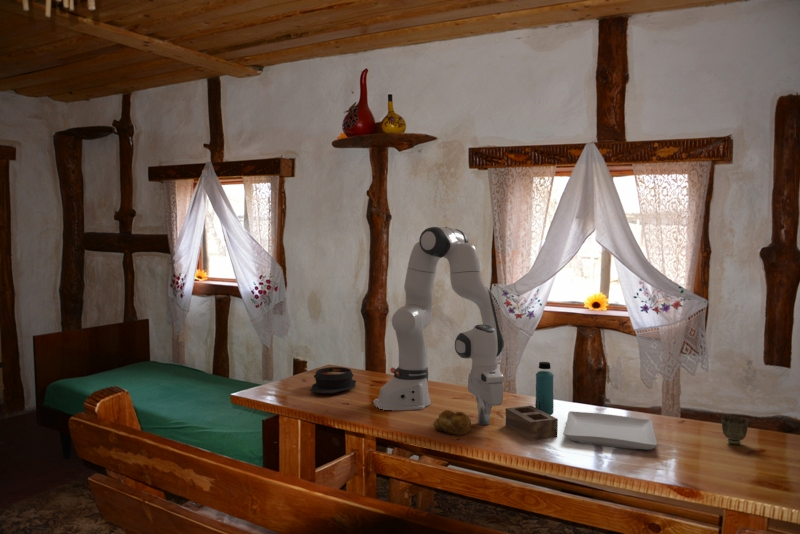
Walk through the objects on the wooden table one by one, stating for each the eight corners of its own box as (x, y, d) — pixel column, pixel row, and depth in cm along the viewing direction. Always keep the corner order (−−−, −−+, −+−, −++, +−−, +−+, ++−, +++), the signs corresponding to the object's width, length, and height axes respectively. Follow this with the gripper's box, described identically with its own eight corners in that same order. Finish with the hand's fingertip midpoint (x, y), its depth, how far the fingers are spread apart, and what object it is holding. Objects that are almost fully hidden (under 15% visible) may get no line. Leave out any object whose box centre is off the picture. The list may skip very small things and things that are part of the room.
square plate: (657, 456, 170) (658, 443, 170) (562, 445, 179) (562, 433, 179) (651, 428, 195) (652, 417, 195) (568, 420, 205) (568, 409, 204)
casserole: (329, 381, 260) (329, 363, 260) (366, 385, 253) (366, 366, 253) (299, 395, 237) (299, 374, 237) (339, 399, 230) (339, 379, 230)
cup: (747, 449, 174) (748, 423, 174) (720, 445, 178) (720, 419, 178) (748, 442, 181) (748, 417, 180) (721, 438, 185) (721, 413, 184)
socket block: (530, 440, 182) (530, 422, 182) (505, 425, 197) (505, 408, 197) (557, 437, 186) (557, 418, 185) (530, 422, 201) (531, 405, 200)
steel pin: (481, 425, 197) (481, 396, 196) (476, 422, 201) (476, 393, 200) (491, 424, 198) (492, 395, 198) (486, 421, 202) (486, 392, 201)
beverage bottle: (556, 416, 207) (557, 362, 206) (547, 421, 202) (548, 364, 202) (540, 413, 212) (541, 359, 211) (531, 417, 207) (532, 362, 206)
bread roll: (428, 431, 191) (428, 408, 191) (443, 424, 199) (443, 401, 199) (462, 439, 184) (462, 414, 183) (476, 431, 192) (476, 407, 191)
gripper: (463, 366, 207) (463, 404, 208) (489, 379, 188) (489, 421, 189) (479, 365, 209) (478, 402, 210) (506, 378, 190) (506, 419, 191)
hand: (484, 411), depth 199 cm, fingers closed on steel pin, 4 cm apart
